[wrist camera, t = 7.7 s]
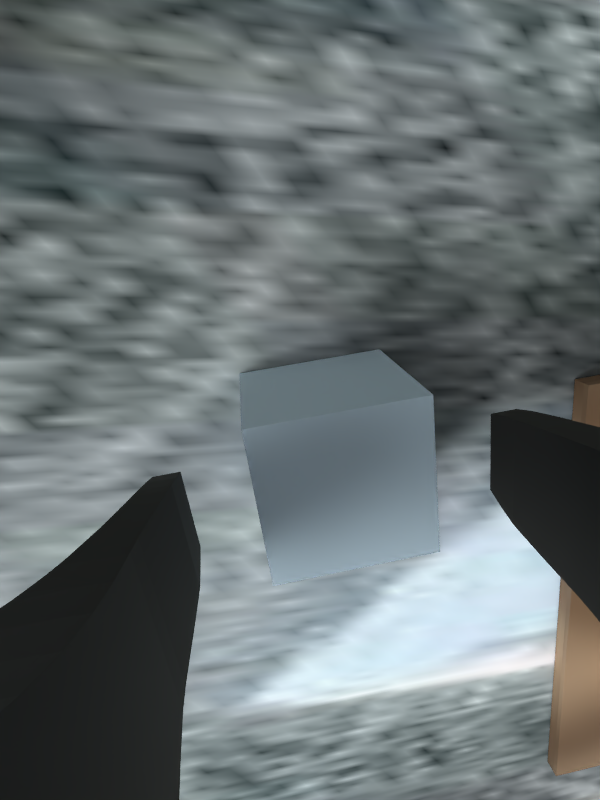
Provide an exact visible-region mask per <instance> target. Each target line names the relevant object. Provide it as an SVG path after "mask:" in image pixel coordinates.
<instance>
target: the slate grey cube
mask: <svg viewBox="0 0 600 800" xmlns="http://www.w3.org/2000/svg"><path fill="white" fill-rule="evenodd" d="M240 402H241V430H242V435H243V440H244V445H245V450H246V455H247V460H248V465H249V469H250V474H251V479H252V484H253V489H254V494H255V499H256V504H257V509H258V514H259V519H260V523H261V528H262V533H263V538H264V543H265V548H266V553H267V558H268V563H269V568H270V573H271V577H272V582H273V586H276V585H281V584H286V583H291V582H295V581H300V580H305V579H310V578H315V577H320V576H324V575H329V574H334V573H339V572H344V571H349V570H353V569H358V568H363V567H368V566H373V565H378V564H383V563H387V562H392V561H397V560H402V559H407V558H412V557H416V556H421V555H426V554H431V553H436V552H440V542H439V519H438V495H437V471H436V448H435V424H434V400H433V394H432V393H431V392H429V391H428V390H427V389H426V388H425V387H423V386H422V385H421V384H420V383H419V382H417V381H416V380H415V379H414V378H413V377H412V376H410V375H409V374H408V373H407V372H406V371H404V370H403V369H402V368H401V367H400V366H399V365H397V364H396V363H395V362H394V361H393V360H391V359H390V358H389V357H388V356H387V355H386V354H384V353H383V352H382V351H381V350H380V349H378V350H372V351H367V352H361V353H355V354H349V355H344V356H338V357H332V358H326V359H320V360H315V361H309V362H303V363H297V364H292V365H286V366H280V367H274V368H268V369H263V370H257V371H251V372H245V373H240Z"/></svg>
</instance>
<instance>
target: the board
mask: <svg viewBox="0 0 600 800" xmlns="http://www.w3.org/2000/svg"><path fill="white" fill-rule="evenodd" d="M572 420H573V421H577V422H581V423H585V424H589V425H593V426H597V427H600V375H596V376H590V377H585V378H579V379H575V387H574V400H573V414H572ZM548 763H549V764H550V766H551V768H552V770H553V771H554V773H555V775H556V776H558V775H562V774H566V773H570V772H574V771H579V770H583V769H587V768H591V767H595V766H599V765H600V622H599V621H598V619H597V618H596V617H595V616H594V615H593V613H592V612H591V611H590V610H589V609H588V607H587V606H586V605H585V604H584V603H583V601H582V600H581V599H580V598H579V597H578V596H577V595H576V594H575V592H574V591H573V590H572V589H571V588H570V587H569V586H568V585H567V584H566V582H565V581H564V580H563V579H562V578H561V582H560V596H559V610H558V624H557V638H556V652H555V666H554V680H553V694H552V708H551V722H550V736H549V750H548Z"/></svg>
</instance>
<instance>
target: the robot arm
mask: <svg viewBox="0 0 600 800" xmlns="http://www.w3.org/2000/svg"><path fill="white" fill-rule="evenodd" d="M490 490H491V491H492V493H493V495H494V496H495V498H496V499H497V501H498V502H499V504H500V506H501V507H502V509H503V510H504V512H505V513H506V514H507V516H508V517H509V519H510V520H511V522H512V523H513V524H514V525H515V527H516V528H517V529H518V530H519V531H520V532H521V534H522V535H523V536H524V537H525V538H526V539H527V540H528V541H529V543H530V544H531V545H532V546H533V547H534V548H535V549H536V550H537V552H538V553H539V554H540V555H541V556H542V557H543V558H544V559H545V560H546V562H547V563H548V564H549V565H550V566H551V567H552V568H553V569H554V570H555V571H556V573H557V574H558V575H559V576H560V577H561V578H562V579H563V580H564V581H565V582H566V584H567V585H568V586H569V587H570V588H571V589H572V590H573V591H574V592H575V594H576V595H577V596H578V597H579V598H580V599H581V600H582V601H583V603H584V604H585V605H586V606H587V607H588V609H589V610H590V611H591V612H592V613H593V615H594V616H595V617H596V618H597V619H598V621H599V622H600V427H597V426H593V425H589V424H585V423H581V422H577V421H573V420H568V419H564V418H560V417H556V416H552V415H547V414H543V413H538V412H533V411H527V410H519V409H515V410H509V411H504V412H499V413H493V414H491V474H490ZM199 591H200V543H199V540H198V536H197V532H196V529H195V525H194V521H193V517H192V514H191V510H190V506H189V502H188V499H187V495H186V491H185V487H184V484H183V480H182V476H181V472H177V473H172V474H166V475H161V476H156V477H152V478H151V479H150V480H149V481H147V482H146V483H145V484H144V485H143V486H142V487H141V488H140V489H139V490H138V491H137V492H136V493H135V494H134V495H133V496H132V497H131V498H130V499H129V500H128V501H127V502H126V503H125V504H124V505H123V506H122V507H121V508H120V509H119V510H118V511H117V512H116V513H115V514H114V515H113V516H112V517H111V518H110V519H109V520H108V521H107V522H106V523H105V524H104V525H103V526H102V527H101V528H100V529H99V530H97V531H96V532H95V533H94V534H93V535H92V536H91V537H90V538H89V539H87V540H86V541H85V542H84V543H83V544H82V545H81V546H80V547H79V548H77V549H76V550H75V551H74V552H73V553H72V554H71V555H70V556H69V557H67V558H66V559H65V560H64V561H63V562H61V563H60V564H59V565H58V566H57V567H55V568H54V569H53V570H52V571H50V572H49V573H48V574H47V575H45V576H44V577H43V578H41V579H40V580H39V581H37V582H36V583H35V584H33V585H32V586H31V587H29V588H28V589H27V590H25V591H24V592H23V593H21V594H20V595H19V596H17V597H16V598H14V599H13V600H12V601H10V602H9V603H7V604H6V605H4V606H3V607H1V608H0V800H179V788H180V761H181V740H182V720H183V705H184V696H185V687H186V680H187V673H188V666H189V660H190V653H191V646H192V640H193V633H194V626H195V620H196V613H197V606H198V599H199Z"/></svg>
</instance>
